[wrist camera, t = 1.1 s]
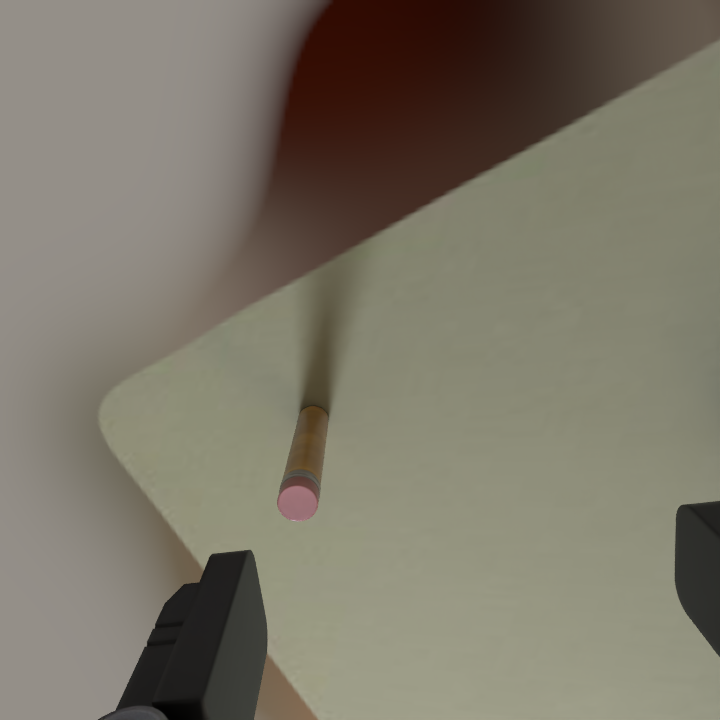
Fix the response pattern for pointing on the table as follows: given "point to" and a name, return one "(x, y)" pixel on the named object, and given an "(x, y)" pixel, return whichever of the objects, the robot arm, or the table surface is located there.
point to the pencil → (304, 466)
